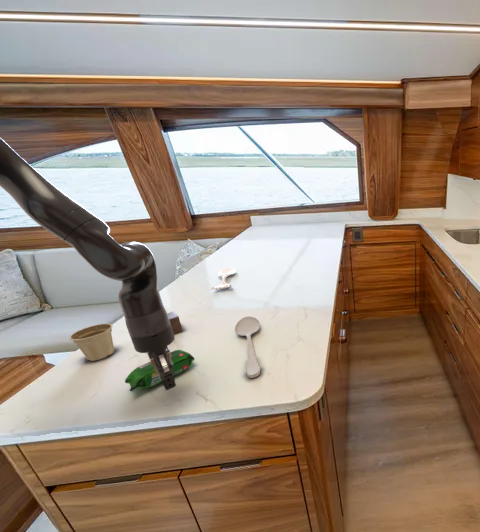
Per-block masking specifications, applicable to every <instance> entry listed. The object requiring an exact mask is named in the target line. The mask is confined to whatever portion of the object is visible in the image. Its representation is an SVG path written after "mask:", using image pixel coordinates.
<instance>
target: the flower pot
mask: <svg viewBox="0 0 480 532" xmlns="http://www.w3.org/2000/svg"><path fill="white" fill-rule="evenodd" d="M112 328H113V324H111V323H97V324H93V325H90V326H86V327H84V328H81V329H79V330H76V331H75V332H72V334H70V335H69V337H68V339H69V340H70V341H72V342H73V343H74V344H76V346H77V348H79V350H80V351H81V352H82V354H83V355H84V357H85V358H86V360H87V361H91V362H95V361H99V360H103V359H105V358H106V357H108V356H111V355H112V354H114V353H115V346H114V341H113V334H112V332H113V329H112Z"/></svg>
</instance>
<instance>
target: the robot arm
mask: <svg viewBox="0 0 480 532" xmlns="http://www.w3.org/2000/svg"><path fill="white" fill-rule="evenodd" d="M0 187H1V188H2V189H3V190H4V191H5V192H6V193H7V194H9V196H11V197H12V199H13V200H14V201H15V202H16V203H17V205H18V206H19V207H20V208H21V209H22V210H23V212H24V213H25V214H26V215H27V216H28V217H29V218H30V219H31V220H32V221H34V222H35V223H36V224H38V225H39V226H40V227H41V228H43V229H45V230H46V231H47V232H49V233H51V234H52V235H53V236H55V237H57V238H58V239H60V240H62V241H63V242H64V243H66V244H68V245H70V246H71V247H72V248H73V249H74V250H75V251H76V252H77V253H78V254H79V256H81V258H83V259H84V260H85V261H86V262H87V263H88V264H89V265H90V266H91V267H92V269H94V270H95V271H96V272H98V273H99V274H100V275H102V276H104V277H106V278H108V279H111V280H113V281H118V282H121V288H120V289H119V292H118V294H117V300H118V302H119V305H120V308H121V310H122V313H123V316H124V321H125V326H126V329H127V331H128V334H129V336H130V339H131V343H132V345H133V347H134V350H135V352H137V353H139V354H147V356H148V359H149V362H150V361H151V363H152V364H153V367H154V369H155V371H156V373H158V375H160V376H159V377H160V378H161V379H162V382H161V383H162V385H163V388H164V390H165V391H169V390H171V389H174V388H176V386H177V382H176V381H175V378H174V377H175V376H174V371H173V363H172V360H171V352H172V351H171V350H170V349H169V347H168V346H170V345H171V344H172V343H174V341H175V339H176V338H175V334H174V333H173V330H172V327H171V324H170V321H169V317H168V314H167V313H168V312H167V310H166V308H165V306H164V303H163V300H162V297H161V294H160V291H159V288H158V273H157V263H156V259H155V257H154V254H153V252H152V251H151V250H150V248H149V247H147V246H146V245H145V244H143V243H141V242H137V241H125V242H123V243H121V244H120V243H119V242H118V241H117V240H115V239H114V238H113V237H112V236H111V235H110V232H111V229H110V226H109V225H108V224H107V223H106V222H104V221H103V220H102V219H101V218H99V217H98V216H96V215H95V214H94V213H92V212H91V211H90V210H88V209H87V208H85V207H84V206H83V205H82V204H80V203H79V202H77V201H76V200H75V199H73V198H72V197H71V196H70V195H68V194H66V193H65V192H63V191H62V190H61V189H59V188H58V187H57V186H55V184H53V183H52V181H51V182H50V180H48V179H47V178H46V177H44V175H42V174H41V173H40V172H39V171H37V169H35V168H34V167H33V166H32V165H31V164H29V162H27V161H26V160H25V159H24V158H23V157H22V156H20V155H19V154H18V153H17V151H15V150H14V149H13V148H12V147H11V146H10V145H9V144H8V143H7V142H6V141H5V140H4V139H3V138H1V137H0Z"/></svg>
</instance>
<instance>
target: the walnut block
mask: <svg viewBox="0 0 480 532" xmlns="http://www.w3.org/2000/svg"><path fill="white" fill-rule="evenodd" d="M167 314H168V317H169V321H170V324H171V327H172V330H173V333H174V335H176V334H179V333H182V332H183V326H182V322H181V320H180V316H179V315H178V313H176V312H175V311H170V312H167Z"/></svg>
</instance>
